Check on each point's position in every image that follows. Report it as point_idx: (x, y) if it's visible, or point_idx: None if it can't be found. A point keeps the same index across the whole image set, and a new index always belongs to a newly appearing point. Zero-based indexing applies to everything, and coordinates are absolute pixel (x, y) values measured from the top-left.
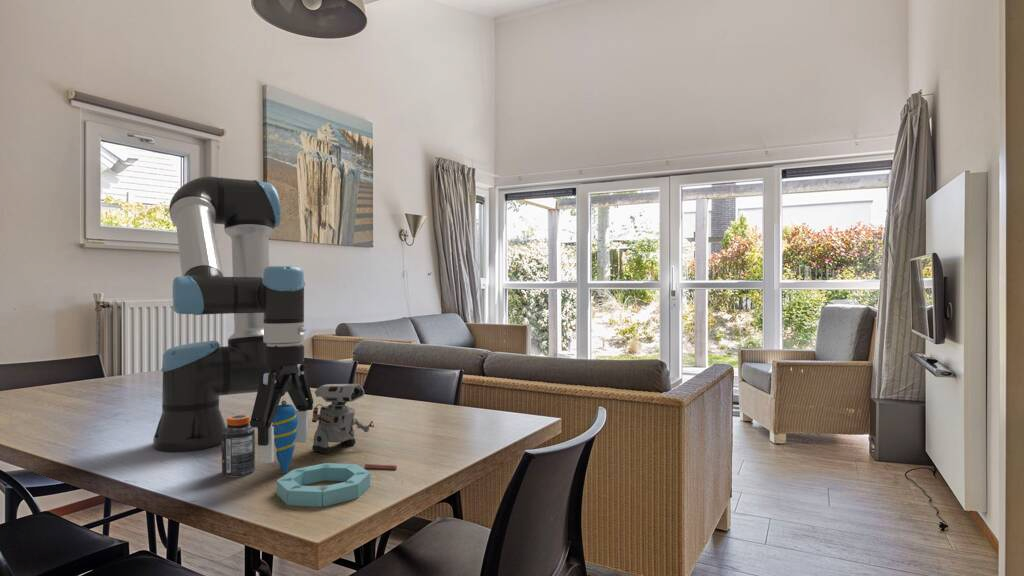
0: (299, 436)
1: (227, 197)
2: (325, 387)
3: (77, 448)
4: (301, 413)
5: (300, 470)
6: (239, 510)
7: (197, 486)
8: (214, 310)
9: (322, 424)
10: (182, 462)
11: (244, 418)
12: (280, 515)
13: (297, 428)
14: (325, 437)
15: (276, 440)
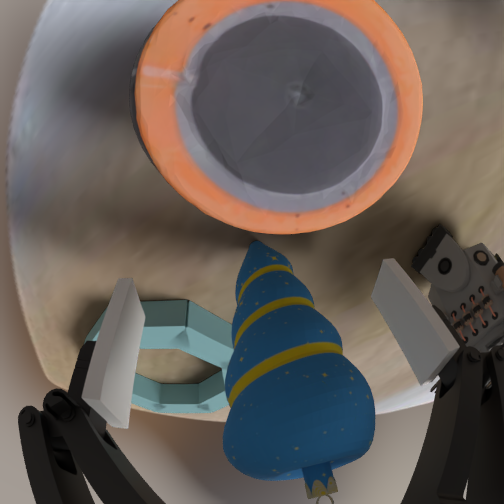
0: (388, 291)
1: None
2: None
3: None
4: (427, 368)
5: (184, 340)
6: (30, 279)
7: (90, 58)
8: None
9: (472, 294)
10: None
11: (235, 225)
12: (58, 340)
13: (404, 307)
14: (438, 287)
15: (235, 322)
